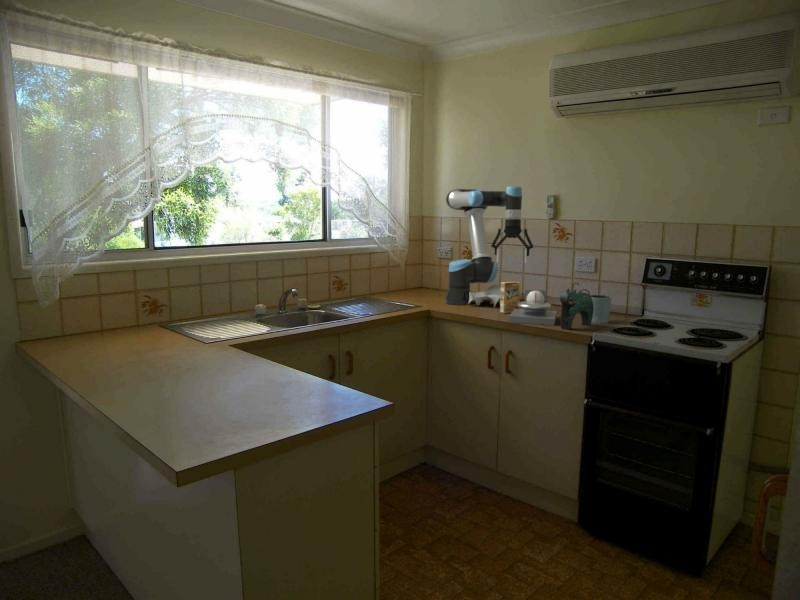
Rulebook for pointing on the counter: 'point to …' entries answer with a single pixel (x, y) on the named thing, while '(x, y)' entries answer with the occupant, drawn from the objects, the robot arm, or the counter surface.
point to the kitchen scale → (534, 310)
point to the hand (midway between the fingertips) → (511, 262)
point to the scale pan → (533, 305)
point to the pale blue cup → (601, 308)
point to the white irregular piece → (487, 295)
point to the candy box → (509, 296)
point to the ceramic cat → (575, 307)
